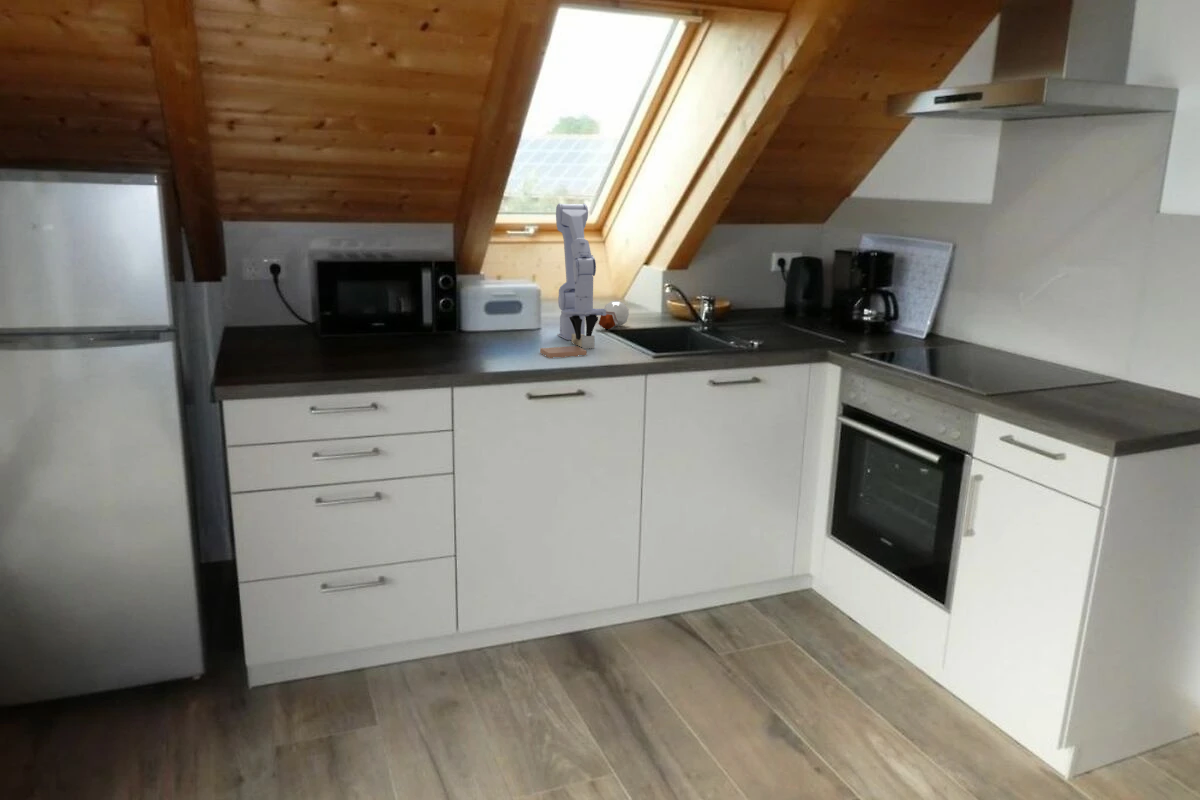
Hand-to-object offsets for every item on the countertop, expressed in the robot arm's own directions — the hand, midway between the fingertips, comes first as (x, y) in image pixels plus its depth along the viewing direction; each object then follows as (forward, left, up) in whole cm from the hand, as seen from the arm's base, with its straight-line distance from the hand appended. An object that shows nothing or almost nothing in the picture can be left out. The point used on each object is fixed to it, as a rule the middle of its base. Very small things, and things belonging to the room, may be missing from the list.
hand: (583, 338), depth 279 cm
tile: (+5, -11, -2) cm, 12 cm away
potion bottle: (-28, +23, -3) cm, 37 cm away
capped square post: (-2, 0, -2) cm, 3 cm away
